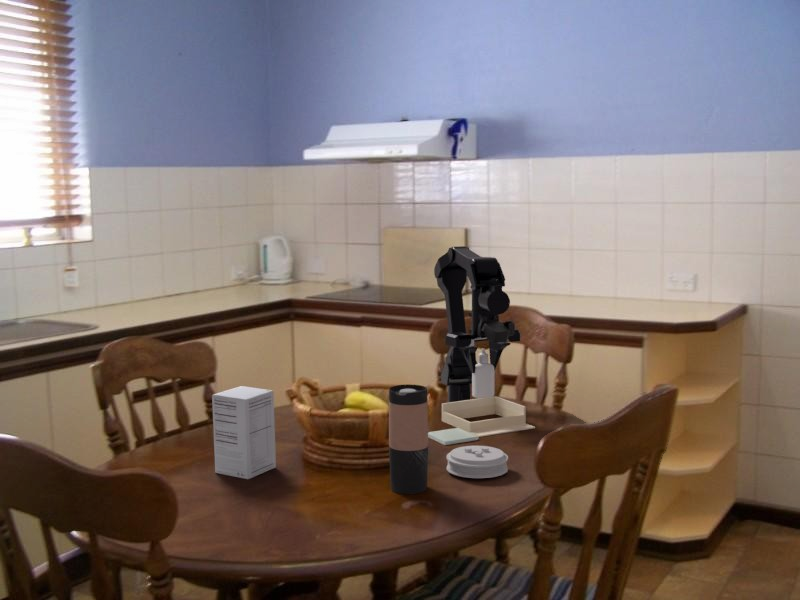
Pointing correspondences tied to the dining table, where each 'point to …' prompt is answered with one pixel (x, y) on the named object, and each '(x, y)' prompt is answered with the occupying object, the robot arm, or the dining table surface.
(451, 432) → the coaster
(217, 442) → the supplement box
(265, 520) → the dining table surface
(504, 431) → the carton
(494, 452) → the lid
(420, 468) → the travel mug
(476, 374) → the eye dropper bottle
